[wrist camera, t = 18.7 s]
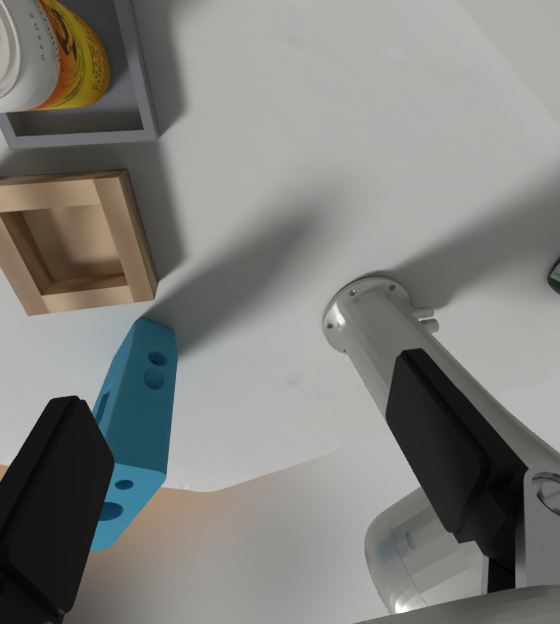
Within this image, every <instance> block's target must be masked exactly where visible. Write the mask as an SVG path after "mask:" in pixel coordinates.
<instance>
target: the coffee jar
mask: <svg viewBox="0 0 560 624" xmlns="http://www.w3.org/2000/svg"><path fill="white" fill-rule="evenodd" d="M548 283H549V285H550V286H551V288H552V289H553V290H554V291H556V292H557V293H558V294H560V259H559V261H558V262H557V263H556V264H555V265H554V267H553V269H552V271H551V272H550V274H549V277H548Z"/></svg>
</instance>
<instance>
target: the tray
mask: <svg viewBox="0 0 560 624" xmlns="http://www.w3.org/2000/svg"><path fill="white" fill-rule="evenodd" d="M56 1H57V2H59V3H60V4H62V5H63V6H65V7H66V8H68V9H69V10H71V11H72V12H74V13H75V14H77V15H78V16H80V17H81V18H82V19H83V20H84V21H86V22H87V23H88V24H89V25H90V27H91V28H92V29H93V30H94V31H95V33H96V34H97V36H98V37H99V39H100V40H101V42H102V44H103V46H104V48H105V51H106V53H107V56H108V60H109V66H110V80H109V85H108V88H107V90H106V92H105V94H104V95H103V97H102V98H101V99H100V100H99V101H97V102H96V103H94V104H92V105H90V106H86V107H77V108H63V109H49V110H34V111H20V112H6V113H0V128H1V130H2V133H3V135H4V137H5V139H6V142H7V144H8V146H9V148H10V149H19V148H36V147H53V146H70V145H87V144H104V143H121V142H138V141H155V140H158V139H159V138H160V133H159V128H158V123H157V119H156V114H155V109H154V104H153V100H152V95H151V90H150V86H149V81H148V76H147V71H146V67H145V62H144V57H143V53H142V48H141V43H140V38H139V34H138V29H137V24H136V20H135V15H134V10H133V5H132V1H131V0H56Z"/></svg>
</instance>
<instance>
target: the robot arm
mask: <svg viewBox="0 0 560 624" xmlns="http://www.w3.org/2000/svg"><path fill="white" fill-rule="evenodd" d="M433 315H434V310H433V308H432V307H424V308H420V309H416V308H414V307H413V306H412V305H411V302H410V298H409V295H408V293H407V292H406V290H405V289H404V288H403V287H402V286H401V285H400V284H399V283H398V282H396V281H394V280H392V279H390V278H386V277H376V276H375V277H367V278H364V279H360V280H357V281H355V282H353V283H351V284H349V285H348V286H346V287H345V288H343V289H342V290H341V291H340V292H339V293H338V294H337V295H336V296H335V297H334V298H333V299H332V300H331V302H330V303H329V305H328V307H327V309H326V311H325V314H324V317H323V332H324V335H325V337H326V339H327V341H328V343H329V344H330V345H331V346H332V347H333V348H334V349H335V350H337V351H338V352H341V353H343V354H348V356H349V357H350V359H351V361H352V363H353V365H354V366H355V368H356V370H357V372H358V373H359V375H360V377H361V379H362V380H363V382H364V384H365V386H366V387H367V389H368V391H369V393H370V395H371V396H372V398H373V400H374V402H375V403H376V405H377V407H378V409H379V410H380V412H381V414H382V416H383V417H384V419H385V421H386V423H387V424H388V426H389V428H390V430H391V431H392V433H393V435H394V437H395V439H396V441H397V442H398V444H399V446H400V448H401V450H402V452H403V454H404V455H405V457H406V459H407V461H408V462H409V465H410V466H411V468H412V470H413V472H414V474H415V476H416V477H417V479H418V481H419V483H420V485H421V487H419V488H418V489H416V490H415V491H413V492H412V493H410V494H409V495H407V496H406V497H404V498H403V499H401V500H400V501H398V502H396V503H395V504H393V505H392V506H390V507H389V508H387V509H386V510H385V511H383V512H382V513H381V514H379V515H378V516H377V517H376V519H374V521H373V522H372V523H371V524H370V526H369V528H368V530H367V533H366V536H365V557H366V562H367V566H368V570H369V573H370V575H371V578H372V581H373V583H374V585H375V588H376V590H377V592H378V594H379V596H380V598H381V599H382V601H383V603H384V604H385V607H386V608H387V610H388V612H389V613H390V615H389V616H384V617H380V618H376V619H371V620H367V621H362V622H358V623H354V624H560V453H559V452H558V451H556V450H555V449H553V448H552V447H551V446H550V445H549V444H547V443H546V442H545V441H544V440H542V439H541V438H540V437H538V436H537V435H536V434H535V433H533V432H532V431H531V430H530V429H529V428H527V427H526V426H525V425H524V424H523V423H522V422H520V421H519V420H518V419H517V418H516V417H515V416H513V415H512V414H511V413H510V412H509V411H508V410H506V408H505V407H503V406H502V405H501V404H500V403H499V402H498V401H497V400H496V399H495V398H494V397H493V396H492V395H491V394H490V393H489V392H488V391H487V390H486V389H485V388H484V387H483V386H482V385H481V384H480V383H479V382H478V381H477V380H476V379H475V378H474V377H473V376H472V375H471V374H470V373H469V372H468V371H467V370H466V369H465V368H464V367H463V366H462V365H461V364H460V363H459V362H458V361H457V360H456V359H455V358H454V357H453V356H452V355H451V354H450V353H449V352H448V351H447V350H446V349H445V348H444V347H443V346H442V344H441V343H440V342H439V341H438V340H437V339H436V338H435V337H434V336H433V335H432V334H431V333H434V332H437V331H438V329H439V324H438V322H437V320H436V319H428V320H422V321H418V318H425V317H432V316H433ZM114 465H115V461H114V456H113V454H112V452H111V450H110V448H109V446H108V444H107V442H106V440H105V438H104V436H103V434H102V432H101V430H100V428H99V426H98V424H97V422H96V420H95V418H94V416H93V414H92V412H91V410H90V408H89V406H88V404H87V402H86V401H85V400H80V399H79V397H78V396H66V397H59V398H53V399H51V400H50V401H49V402H48V404H47V406H46V407H45V409H44V411H43V412H42V414H41V416H40V417H39V419H38V421H37V422H36V424H35V426H34V427H33V429H32V431H31V432H30V434H29V436H28V438H27V439H26V441H25V443H24V444H23V446H22V448H21V449H20V451H19V453H18V454H17V456H16V458H15V459H14V460H13V462H12V463H11V465H10V466H9V468H8V470H7V472H6V473H5V475H4V477H3V478H2V480H1V482H0V624H62V621H63V618H64V615H65V614H66V613H68V612H69V611H70V610H71V608H72V607H73V604H74V602H75V598H76V595H77V592H78V589H79V585H80V582H81V578H82V575H83V572H84V568H85V565H86V562H87V558H88V555H89V551H90V548H91V545H92V542H93V538H94V535H95V531H96V528H97V525H98V521H99V518H100V515H101V511H102V508H103V505H104V501H105V498H106V495H107V491H108V488H109V484H110V481H111V478H112V474H113V471H114Z"/></svg>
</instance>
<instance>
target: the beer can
mask: <svg viewBox="0 0 560 624" xmlns="http://www.w3.org/2000/svg"><path fill="white" fill-rule="evenodd" d="M109 80H110V66H109V60H108V56H107V53H106V51H105V48H104V46H103V44H102V42H101V40H100V39H99V37H98V36H97V34H96V33H95V31H94V30H93V29H92V28H91V27H90V25H89V24H88V23H87V22H86V21H84V20H83V19H82V18H81V17H80V16H78V15H77V14H75V13H74V12H72V11H71V10H69V9H68V8H66V7H65V6H63V5H62V4H60V3H59V2H57V1H56V0H0V113H6V112H20V111H34V110H49V109H63V108H77V107H86V106H90V105H92V104H94V103H96V102H97V101H99V100H100V99H101V98H102V97H103V95H104V94H105V92H106V90H107V88H108V85H109Z"/></svg>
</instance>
